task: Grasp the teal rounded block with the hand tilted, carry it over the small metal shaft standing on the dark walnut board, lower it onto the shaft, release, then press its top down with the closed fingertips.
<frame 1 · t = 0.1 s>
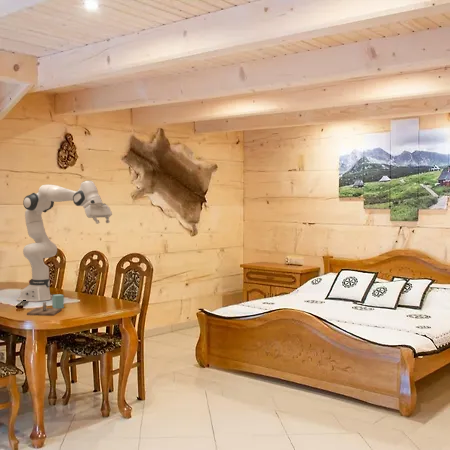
hand: (103, 223, 382), 54 cm above the table, fingers open, 8 cm apart
board: (44, 312, 366), on the table
teal rounded block: (58, 307, 383), on the table
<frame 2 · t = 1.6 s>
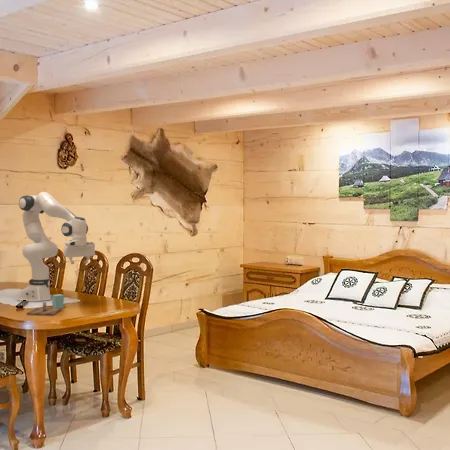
hand: (79, 263, 390), 27 cm above the table, fingers open, 8 cm apart
nothing on the table moved.
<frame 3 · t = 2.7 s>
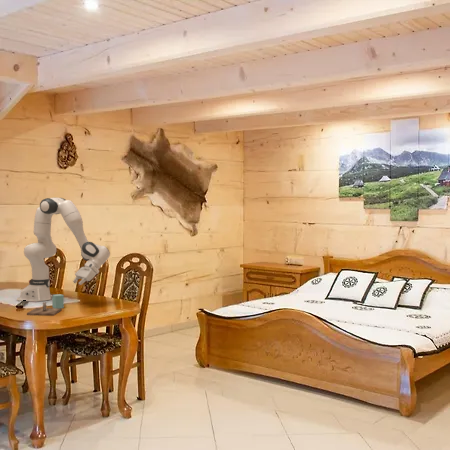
hand: (76, 283, 389), 15 cm above the table, fingers open, 8 cm apart
nothing on the table moved.
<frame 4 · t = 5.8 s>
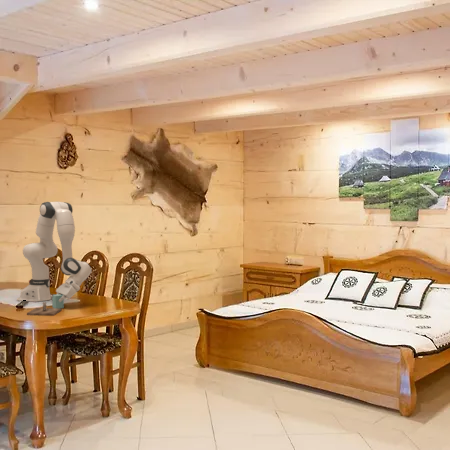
hand: (57, 300, 382), 5 cm above the table, fingers closed on teal rounded block, 6 cm apart
teal rounded block: (58, 307, 383), on the table, touching gripper
when the fingers open (7 cm above the table, at t = 11.3 s): teal rounded block drops 1 cm, resting on board.
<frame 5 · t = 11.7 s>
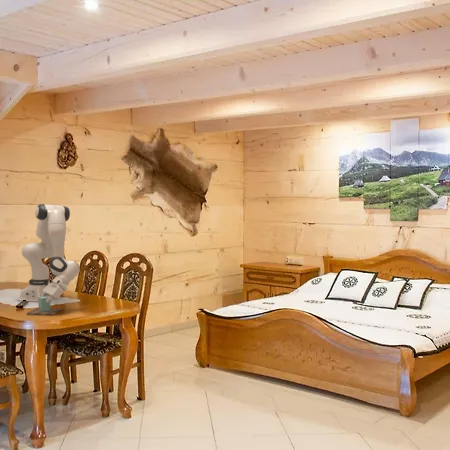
hand: (43, 300, 365), 7 cm above the table, fingers open, 8 cm apart
teal rounded block: (44, 310, 366), point 1 cm above the table, touching board
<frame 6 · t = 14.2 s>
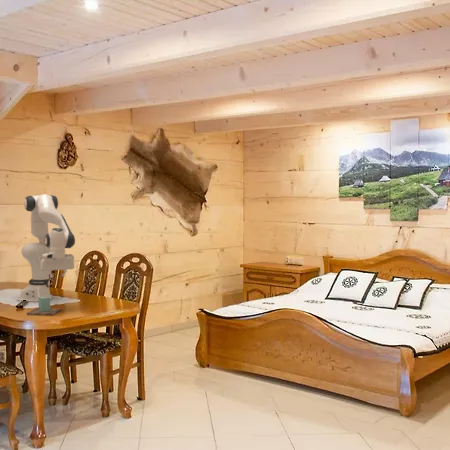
hand: (57, 277, 371), 21 cm above the table, fingers open, 6 cm apart
nothing on the table moved.
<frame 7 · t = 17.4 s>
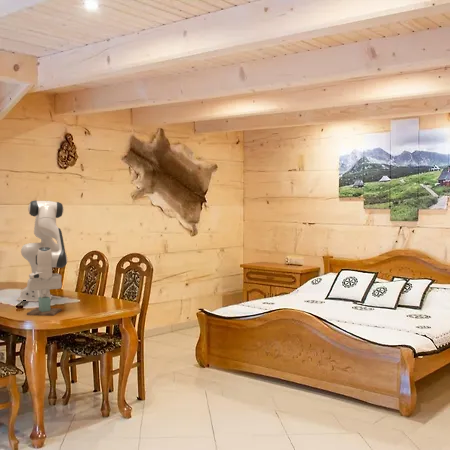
hand: (44, 297, 366), 10 cm above the table, fingers closed
teal rounded block: (44, 310, 366), point 1 cm above the table, touching board, gripper
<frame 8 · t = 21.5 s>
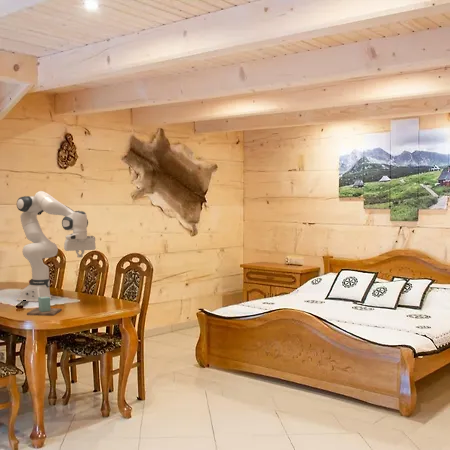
hand: (80, 257, 392), 31 cm above the table, fingers closed
teal rounded block: (44, 310, 366), point 1 cm above the table, touching board
at the end: teal rounded block 0.1 cm from the board (horizontally); teal rounded block point 1.3 cm above the table; teal rounded block tilted 2° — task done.
